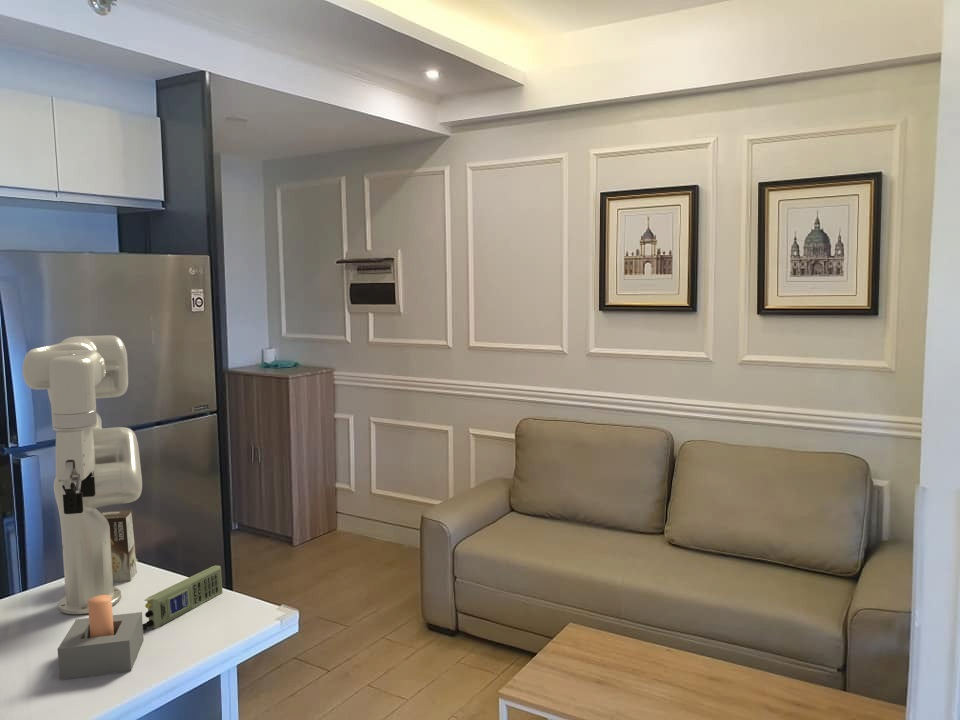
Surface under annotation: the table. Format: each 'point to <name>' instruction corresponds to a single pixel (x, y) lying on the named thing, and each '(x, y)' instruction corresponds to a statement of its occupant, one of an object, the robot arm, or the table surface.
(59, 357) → the robot arm
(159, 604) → the handheld radio
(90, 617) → the peg
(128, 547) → the coffee box
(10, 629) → the table surface
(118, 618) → the socket block
